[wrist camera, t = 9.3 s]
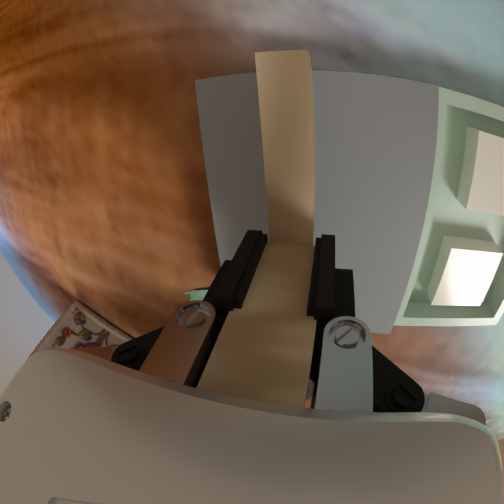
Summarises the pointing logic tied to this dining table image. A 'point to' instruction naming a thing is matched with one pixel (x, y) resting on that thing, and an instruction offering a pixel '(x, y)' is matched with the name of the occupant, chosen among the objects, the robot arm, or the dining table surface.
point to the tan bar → (277, 250)
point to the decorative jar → (81, 331)
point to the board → (333, 174)
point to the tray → (454, 218)
